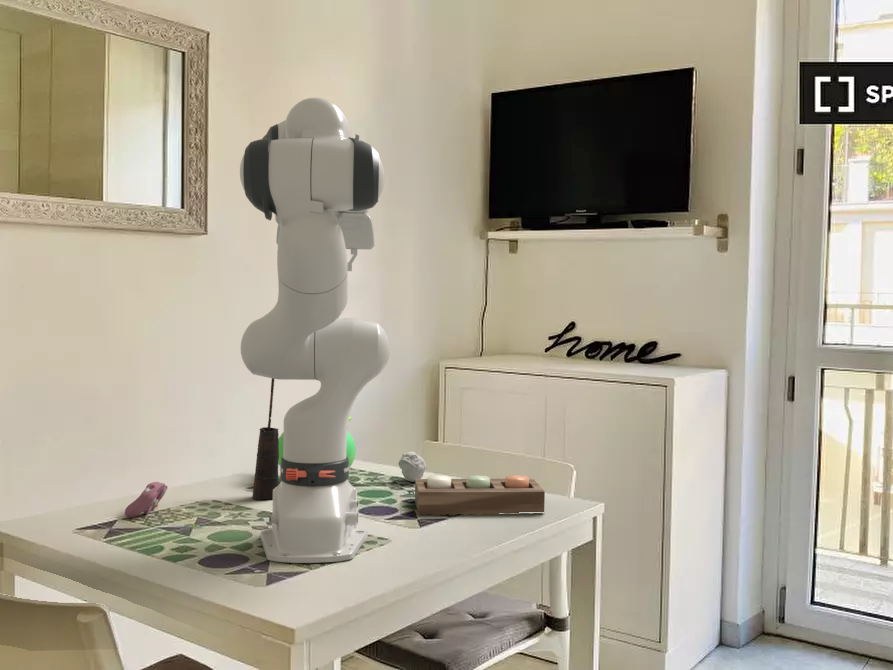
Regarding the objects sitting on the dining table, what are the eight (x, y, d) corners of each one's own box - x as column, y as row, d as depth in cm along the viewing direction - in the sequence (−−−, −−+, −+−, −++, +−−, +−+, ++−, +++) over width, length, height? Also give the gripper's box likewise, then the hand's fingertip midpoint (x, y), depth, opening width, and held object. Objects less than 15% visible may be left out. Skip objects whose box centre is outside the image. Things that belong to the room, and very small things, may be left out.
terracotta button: (530, 492, 182) (531, 480, 182) (507, 492, 181) (507, 480, 181) (526, 487, 186) (526, 475, 186) (503, 487, 186) (503, 475, 186)
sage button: (491, 492, 181) (491, 480, 181) (467, 492, 180) (468, 480, 180) (488, 487, 186) (488, 475, 186) (465, 487, 185) (465, 475, 185)
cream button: (452, 492, 180) (452, 480, 180) (428, 492, 180) (428, 480, 180) (449, 487, 185) (449, 475, 185) (426, 487, 184) (426, 475, 184)
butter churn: (260, 506, 180) (261, 367, 179) (230, 499, 186) (231, 364, 185) (295, 498, 188) (296, 365, 186) (265, 491, 194) (266, 362, 192)
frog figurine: (392, 482, 205) (392, 452, 205) (411, 477, 211) (411, 447, 210) (413, 486, 201) (413, 455, 201) (432, 481, 207) (432, 450, 207)
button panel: (544, 514, 179) (544, 491, 178) (418, 514, 176) (418, 492, 176) (532, 499, 190) (533, 478, 190) (414, 500, 188) (415, 479, 188)
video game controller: (142, 526, 170) (159, 494, 170) (121, 515, 170) (137, 483, 170) (159, 513, 180) (174, 482, 180) (138, 503, 180) (154, 472, 180)
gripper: (274, 201, 182) (273, 269, 183) (375, 203, 184) (374, 271, 185) (276, 203, 188) (276, 269, 189) (374, 206, 191) (373, 271, 191)
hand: (325, 270), depth 187 cm, fingers open, 8 cm apart
